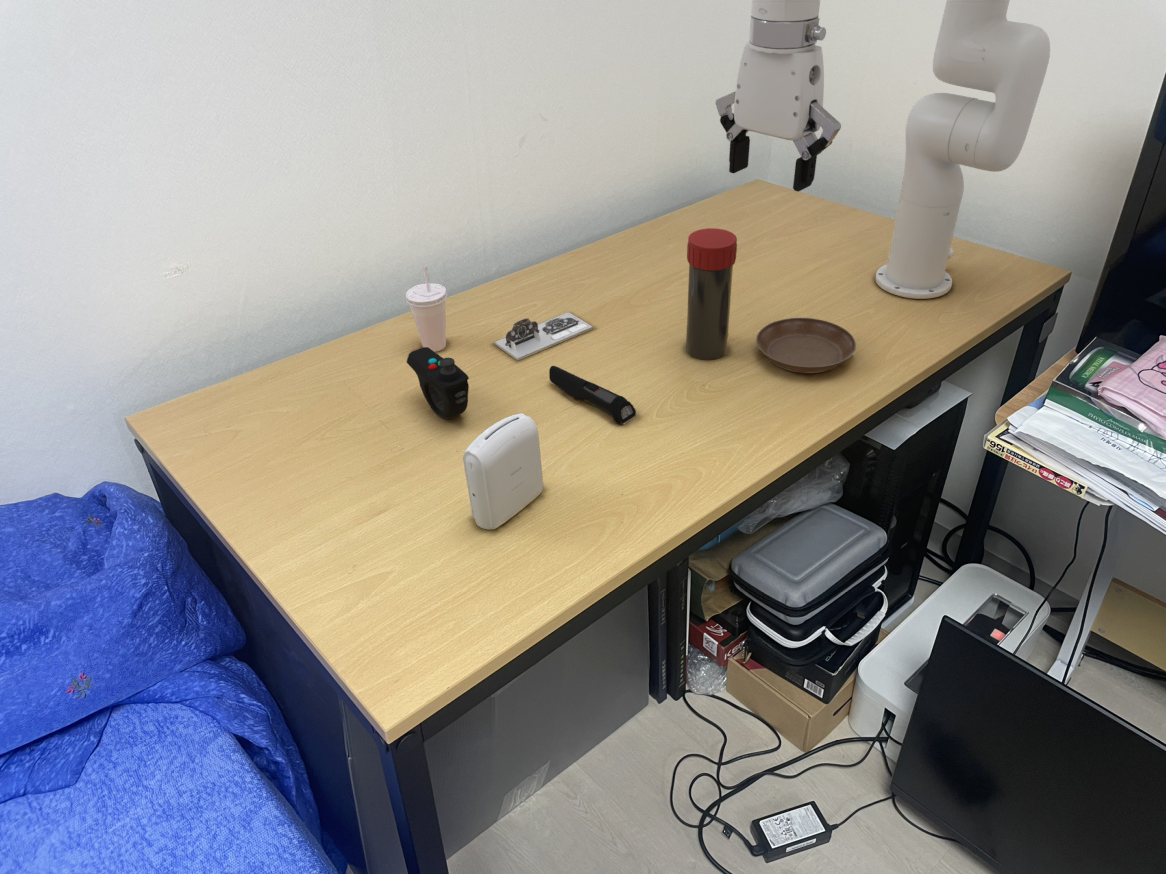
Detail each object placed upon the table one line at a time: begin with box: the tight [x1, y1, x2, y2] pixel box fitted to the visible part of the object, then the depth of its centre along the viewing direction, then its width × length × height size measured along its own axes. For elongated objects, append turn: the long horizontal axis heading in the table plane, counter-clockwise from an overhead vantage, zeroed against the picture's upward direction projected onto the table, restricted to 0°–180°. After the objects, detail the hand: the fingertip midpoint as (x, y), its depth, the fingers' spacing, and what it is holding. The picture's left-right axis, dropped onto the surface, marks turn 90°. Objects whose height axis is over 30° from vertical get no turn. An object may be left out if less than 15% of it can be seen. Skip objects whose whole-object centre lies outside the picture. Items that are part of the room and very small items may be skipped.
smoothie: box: [405, 265, 448, 353], centre depth 137 cm, size 6×6×14 cm
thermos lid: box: [686, 227, 738, 271], centre depth 127 cm, size 7×7×4 cm
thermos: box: [685, 263, 734, 361], centre depth 132 cm, size 6×6×18 cm
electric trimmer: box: [548, 365, 637, 426], centre depth 126 cm, size 4×16×3 cm, turn 45°
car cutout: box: [493, 312, 594, 362], centre depth 141 cm, size 15×7×4 cm, turn 128°
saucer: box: [755, 317, 857, 374], centre depth 134 cm, size 15×15×3 cm
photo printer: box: [462, 412, 544, 531], centre depth 105 cm, size 10×4×12 cm, turn 140°
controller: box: [406, 346, 470, 420], centre depth 123 cm, size 4×12×10 cm, turn 38°
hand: (769, 178), depth 110 cm, fingers open, 9 cm apart
